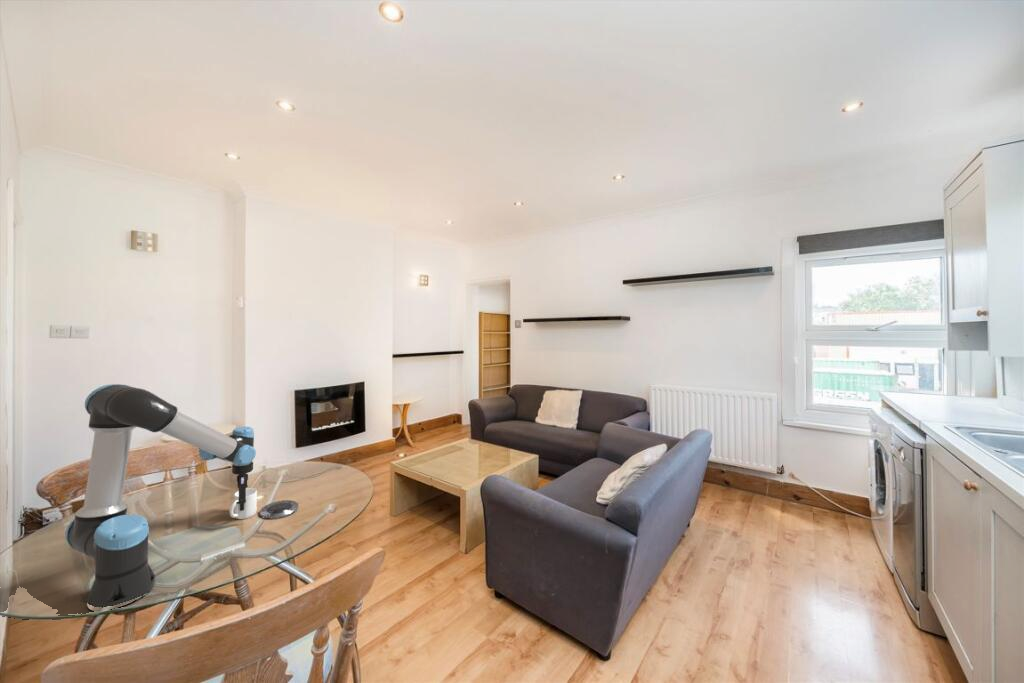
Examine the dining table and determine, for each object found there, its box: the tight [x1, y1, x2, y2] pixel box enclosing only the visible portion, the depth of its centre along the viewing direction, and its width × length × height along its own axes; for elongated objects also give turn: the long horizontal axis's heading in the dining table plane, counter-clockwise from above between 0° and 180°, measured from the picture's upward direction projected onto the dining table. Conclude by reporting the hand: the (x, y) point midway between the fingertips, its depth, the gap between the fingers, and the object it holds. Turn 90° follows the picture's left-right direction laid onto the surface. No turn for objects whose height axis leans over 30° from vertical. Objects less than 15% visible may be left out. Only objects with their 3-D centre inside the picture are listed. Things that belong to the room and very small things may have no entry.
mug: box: [229, 487, 258, 520], centre depth 166 cm, size 12×8×10 cm
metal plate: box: [259, 499, 299, 520], centre depth 173 cm, size 15×15×1 cm
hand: (241, 509), depth 166 cm, fingers open, 13 cm apart
